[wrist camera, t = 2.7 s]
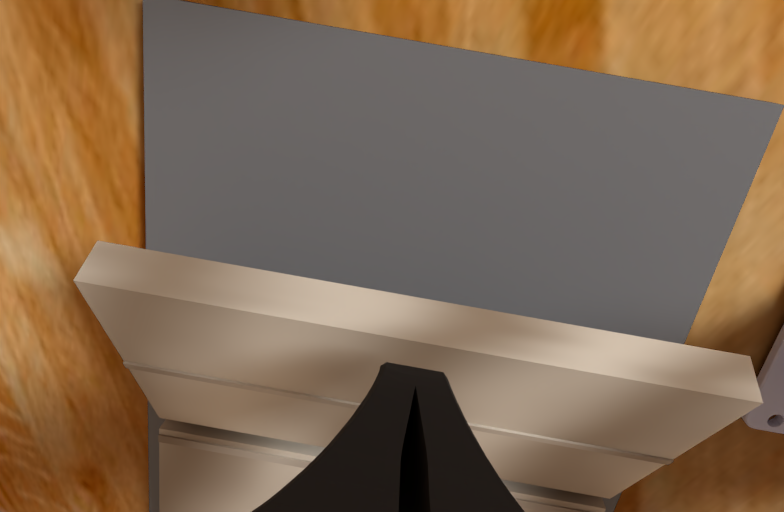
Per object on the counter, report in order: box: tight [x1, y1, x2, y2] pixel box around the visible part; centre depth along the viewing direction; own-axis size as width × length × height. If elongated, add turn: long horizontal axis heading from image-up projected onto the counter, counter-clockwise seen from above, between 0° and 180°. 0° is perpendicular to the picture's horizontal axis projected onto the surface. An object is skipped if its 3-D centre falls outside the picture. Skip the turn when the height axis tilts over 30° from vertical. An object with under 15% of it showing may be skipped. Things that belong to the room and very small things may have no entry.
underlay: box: [143, 0, 784, 512], centre depth 20 cm, size 18×22×1 cm
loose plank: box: [73, 241, 763, 499], centre depth 16 cm, size 16×8×1 cm, turn 81°
